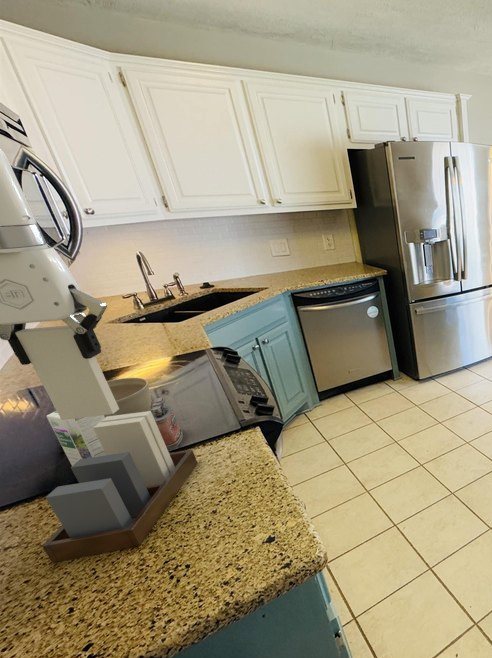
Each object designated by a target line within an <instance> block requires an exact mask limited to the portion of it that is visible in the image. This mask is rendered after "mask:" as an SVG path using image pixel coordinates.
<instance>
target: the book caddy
mask: <svg viewBox="0 0 492 658" xmlns="http://www.w3.org/2000/svg"><path fill="white" fill-rule="evenodd" d="M169 454H170V457H171V459H172V461H173V464H174V466H175V468H174V469H173V471H172V472H171V473H170V474H169V476H168V477H167V478H166V480H165V481H164V482H163V483H162V484H160V485H154V486H148V487H146V488H147V490H148V492H149V494H150V496H151V499H150V500H149V502H148V503H147V504H146V505H145V507H144V508H143V509H142V511H141V512H140V513H139V515H138V516H137V517H134V519H133V522H132V524H131V525H130V526H129V527H128V528H123V529H117V530H112V531H107V532H101V533H96V534H90V535H85V536H80V537H74V538H70V537H69V536H68V534H67V532H66V531H65V529H64V527H63V526H62V525H61V526H60V527H59V528H58V529H57V530H56V531H55V533H53V535H51V536H50V537H49V538H48V539H47V540H46V542H45V543H43V545H41V547H42V550H43V551H44V552H45V554H46V555H47V557H48V558H49V560H50V561H51V563H52V564H54V563H59V562H64V561H69V560H74V559H78V558H84V557H88V556H95V555H100V554H104V553H109V552H116V551H120V550H125V549H130V548H137V547H140V546H142V544H143V542H144V541H145V539H146V538H147V536H148V535H149V534H150V532H151V531H152V529H153V528H154V526H155V525H156V524H157V523H158V521H159V519H160V518H161V517H162V515H163V514H164V512H165V511H166V510H167V508H168V506H169V505H170V504H171V502H172V501H173V500H174V499H175V496H176V495H177V494H178V492H179V491H180V489H181V488H182V486H183V485H184V483H186V482H187V480H188V478H189V477H190V476H191V474H192V472H193V471H194V470H195V469H196V467H197V465H198V463H199V462H198V460H197V457H196V455H195V453H194V450H193V449H188V450H181V451H173V452H169Z"/></svg>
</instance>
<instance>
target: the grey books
mask: <svg viewBox="0 0 492 658" xmlns="http://www.w3.org/2000/svg"><path fill="white" fill-rule="evenodd" d="M70 469H71V471H72V473H73V475H74V476H75V478H76V480H77V482H78V483H72V484H65V485H60V486H57V487H55V488H54V489H53V490H52V491H51V492H50V493H48V494H47V495H46V496H45V499H46V501H47V502H48V504H49V506H50V508H51V510H52V511H53V513H54V514H55V516H56V518H57V519H58V521H59V523H60V524H61V526H63V527H64V529H65V531H66V532H67V534H68V536H69V537H70V538H74V537H80V536H85V535H90V534H96V533H101V532H107V531H112V530H117V529H123V528H128V527H129V526H130V525H131V524H132V522H133V521H134V519H135V518H136V517H137V516H138V515H139V513H140V512H141V511H142V509H143V508H144V507H145V505H146V504H147V503H148V502H149V500H150V499H151V496H150V494H149V492H148V490H147V488H146V486H145V484H144V482H143V480H142V477H141V475H140V473H139V471H138V469H137V467H136V465H135V463H134V461H133V458H132V456H131V454H130V452H126V453H119V454H112V455H105V456H99V457H92V458H85V459H80V460H79V461H78V462H76V463H75V464H74V465H73V466H72V465H71V467H70Z"/></svg>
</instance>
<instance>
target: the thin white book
mask: <svg viewBox="0 0 492 658" xmlns="http://www.w3.org/2000/svg"><path fill="white" fill-rule="evenodd" d="M15 333H16V335H17V337H18V339H19V341H20V343H21V345H22V346H23V348H24V350H25V352H26V354H27V356H28V358H29V360H30V361H31V363H30V364H31V365H32V368H33V369H34V371H35V373H36V375H37V377H38V378H39V381H40V382H41V384H42V387H43V388H44V390H45V392H46V393H47V395H48V397H49V399H50V401H51V403H52V405H53V408H54V407H55V408H54V410H55V409H56V410H57V412H58V414H59V416H60V418H61V420H68V419H76V418H84V417H92V416H100V415H108V414H114V413H115V412H116V411H117V410H119V407H118V405H117V403H116V401H115V399H114V396H113V394H112V392H111V390H110V388H109V386H108V383H107V381H108V380H107V379H106V377H105V375H104V373H103V370H102V368H101V366H100V364H99V361H98V359H97V357H96V356H94V357H92V358H90V359H85V358H83V356H82V354H81V352H80V350H79V348H78V346H77V344H76V342H75V339H74V337H73V336H74V335H75V334H77V332H76V331H74V330H73V329H72V328H71V327H69V326H68V325H59V326H57V325H56V326H46V327H45V326H43V327H32V328H25V329H23V330H21V331H18V332H15ZM56 410H55V411H56Z"/></svg>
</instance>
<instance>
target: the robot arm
mask: <svg viewBox="0 0 492 658" xmlns="http://www.w3.org/2000/svg"><path fill="white" fill-rule="evenodd" d="M87 309H88V313H87V314H85V313H84V312H85V311H86V310H87ZM107 309H108V304H107V303H106V302H104V301H102V300H100V299H98V298H96V297H93V296H91V295H89V294H87V293H85V292H83V291H82V290H81V288H80V286H79V284H78V282H77V281H76V279H75V277H74V275H73V273H72V272H71V270H70V269H69V267H68V265H67V264H66V263H65V261H64V260H63V258H62V257H61V256H60V254H59V253H58V252H57V250H55V248H54V247H49V245H48V244H47V241H46V239H45V237H44V235H43V233H42V230H41V228H40V226H39V224H38V222H37V220H36V218H35V215H34V213H33V211H32V208H31V207H30V205H29V202H28V200H27V199H26V196H25V194H24V192H23V189H22V187H21V185H20V183H19V181H18V179H17V176H16V174H15V172H14V169H13V168H12V166H11V164H10V160H9V159H8V157H7V155H6V153H5V152H4V150H3V149H2V148H0V339H1V340H2V341H7V342H8V344H9V346H10V347H11V349H12V351H13V354H14V355H15V356H16V358H17V359H18V362H19V363H20V364H21V365H22V366H26V365H30V364H32V363H31V361H30V360H29V358H28V356H27V354H26V352H25V350H24V348H23V346H22V345H21V343H20V341H19V339H18V337H17V335H16V333H15V332H18V331H21V330H23V329H26V326H27V324H31V323H32V324H33V323H45V322H56V321H62V322H63V323H64V324H66V326H69V327H71V328H72V329H73V330H74V331H76V332H77V334H75V335H74V336H73V337H74V339H75V342H76V344H77V346H78V348H79V350H80V352H81V354H82V356H83V358H85V359H90V358H92V357H94V356H95V357H96V356H97V355H99V354H102V349H101V348H102V346H101V343H100V341H99V339H98V337H97V334H96V333H95V329H97V326H98V323H99V322H100V321H101V319H102V317H103V315H104V313H105V312H106V310H107Z"/></svg>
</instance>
